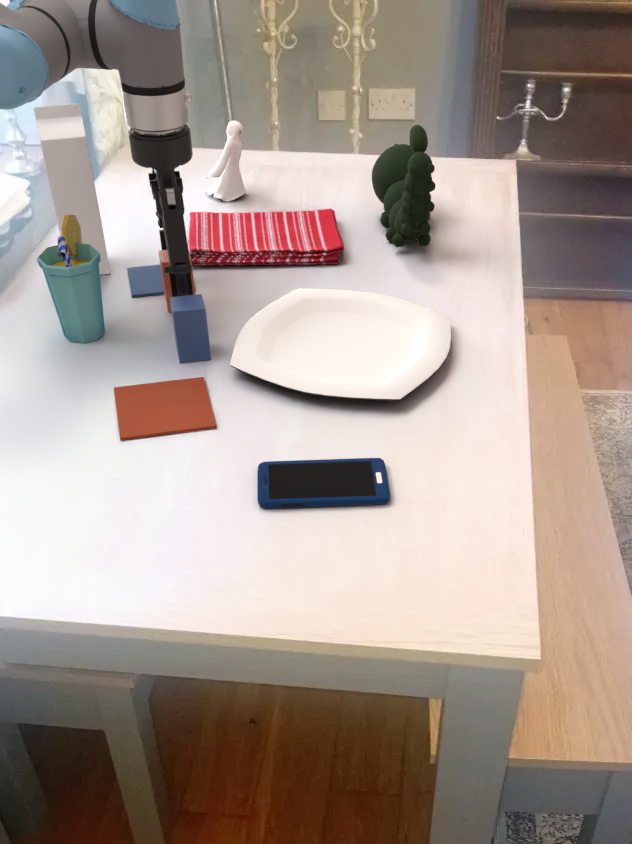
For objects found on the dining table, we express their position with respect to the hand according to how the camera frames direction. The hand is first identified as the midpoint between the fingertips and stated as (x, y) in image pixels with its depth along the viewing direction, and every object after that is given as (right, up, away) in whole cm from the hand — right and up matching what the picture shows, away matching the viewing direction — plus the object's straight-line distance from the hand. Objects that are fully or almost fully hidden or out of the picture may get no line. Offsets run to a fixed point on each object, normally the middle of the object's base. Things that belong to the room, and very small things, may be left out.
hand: (179, 295), depth 124 cm
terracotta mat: (+1, -20, -18) cm, 27 cm away
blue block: (+3, -11, -9) cm, 14 cm away
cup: (-12, -8, -6) cm, 15 cm away
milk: (-15, +7, +9) cm, 19 cm away
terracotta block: (0, -1, +1) cm, 1 cm away
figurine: (+3, +27, +29) cm, 40 cm away
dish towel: (+11, +13, +15) cm, 23 cm away
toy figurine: (+32, +17, +19) cm, 41 cm away
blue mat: (-4, +4, +6) cm, 8 cm away
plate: (+23, -10, -8) cm, 26 cm away
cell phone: (+20, -30, -28) cm, 46 cm away
